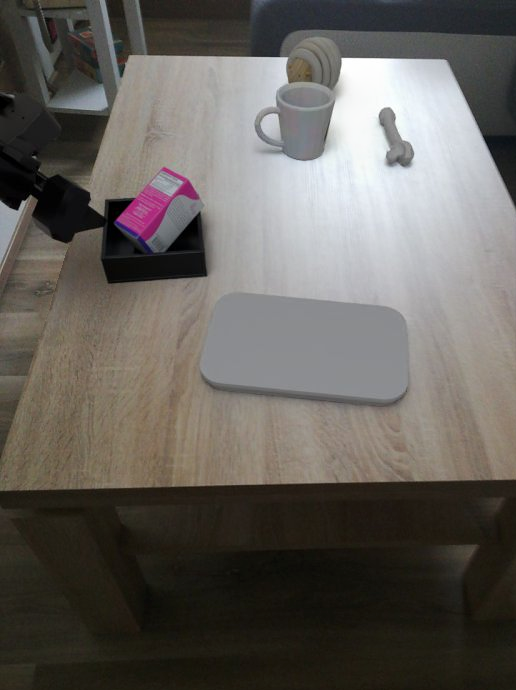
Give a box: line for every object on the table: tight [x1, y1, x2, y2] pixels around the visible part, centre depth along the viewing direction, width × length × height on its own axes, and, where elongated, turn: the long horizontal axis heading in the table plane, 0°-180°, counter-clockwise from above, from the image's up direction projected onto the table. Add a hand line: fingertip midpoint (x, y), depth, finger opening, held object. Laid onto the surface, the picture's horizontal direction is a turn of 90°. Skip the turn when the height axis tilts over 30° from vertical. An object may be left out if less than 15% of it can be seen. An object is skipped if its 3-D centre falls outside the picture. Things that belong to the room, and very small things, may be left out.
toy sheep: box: [285, 36, 343, 92], centre depth 113 cm, size 11×17×11 cm, turn 150°
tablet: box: [198, 291, 409, 407], centre depth 73 cm, size 16×26×2 cm, turn 85°
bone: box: [378, 106, 415, 166], centre depth 106 cm, size 18×5×4 cm, turn 0°
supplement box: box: [114, 166, 205, 253], centre depth 82 cm, size 6×6×12 cm
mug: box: [253, 82, 336, 161], centre depth 100 cm, size 10×15×10 cm
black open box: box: [100, 193, 208, 285], centre depth 84 cm, size 14×14×4 cm
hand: (82, 207), depth 71 cm, fingers open, 9 cm apart
